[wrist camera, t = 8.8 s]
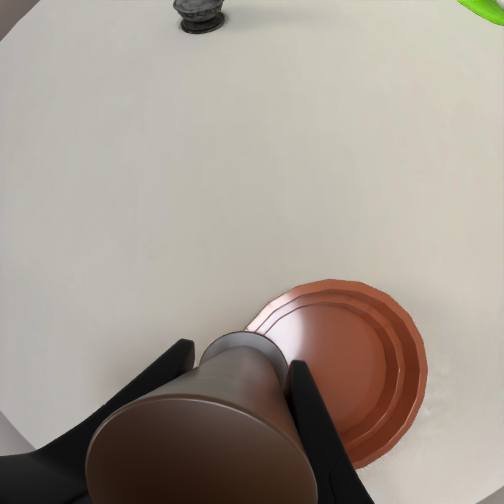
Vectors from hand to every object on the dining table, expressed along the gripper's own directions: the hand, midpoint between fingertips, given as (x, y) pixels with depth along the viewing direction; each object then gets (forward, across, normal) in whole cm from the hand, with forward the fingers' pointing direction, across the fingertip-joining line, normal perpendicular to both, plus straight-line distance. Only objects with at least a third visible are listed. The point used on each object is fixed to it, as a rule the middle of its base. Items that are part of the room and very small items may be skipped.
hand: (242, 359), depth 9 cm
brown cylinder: (+4, 0, +6) cm, 7 cm away
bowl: (+8, -5, +11) cm, 15 cm away
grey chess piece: (+33, +12, -14) cm, 38 cm away
